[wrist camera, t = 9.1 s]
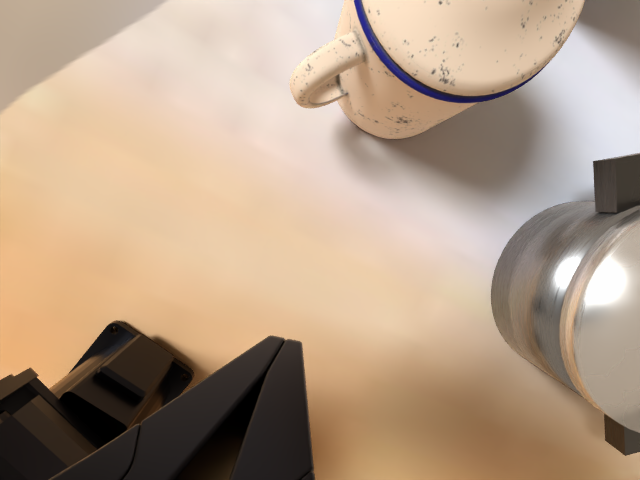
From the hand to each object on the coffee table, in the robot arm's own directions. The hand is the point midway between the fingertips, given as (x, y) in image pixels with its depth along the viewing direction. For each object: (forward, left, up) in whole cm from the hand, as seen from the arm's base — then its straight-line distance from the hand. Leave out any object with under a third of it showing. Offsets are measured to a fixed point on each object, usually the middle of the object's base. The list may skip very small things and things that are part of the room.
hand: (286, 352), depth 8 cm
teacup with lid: (+13, +3, -13) cm, 18 cm away
